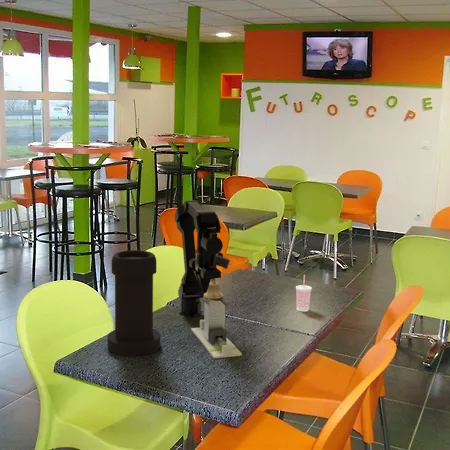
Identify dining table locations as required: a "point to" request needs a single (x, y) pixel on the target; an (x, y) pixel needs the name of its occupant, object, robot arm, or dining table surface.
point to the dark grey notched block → (217, 333)
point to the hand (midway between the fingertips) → (204, 292)
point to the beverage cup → (303, 296)
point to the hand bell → (213, 290)
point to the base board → (216, 345)
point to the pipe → (133, 304)
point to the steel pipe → (219, 340)
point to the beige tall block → (213, 317)
